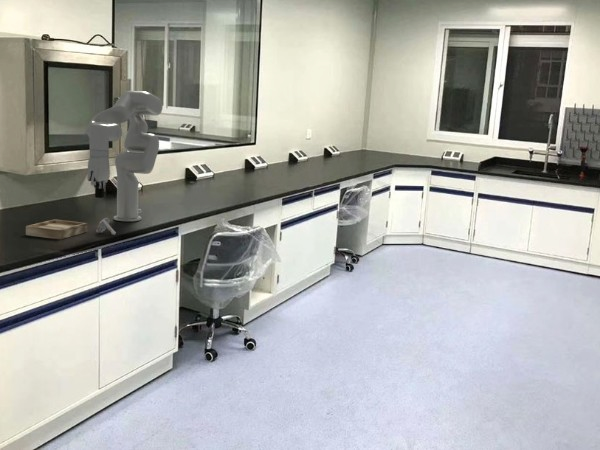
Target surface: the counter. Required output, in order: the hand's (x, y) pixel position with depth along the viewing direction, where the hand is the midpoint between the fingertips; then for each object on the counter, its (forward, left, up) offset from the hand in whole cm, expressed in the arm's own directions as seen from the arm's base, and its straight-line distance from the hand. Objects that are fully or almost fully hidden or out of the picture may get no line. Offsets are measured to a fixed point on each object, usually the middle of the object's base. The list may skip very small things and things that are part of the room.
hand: (99, 197), depth 252 cm
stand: (+1, +3, -17) cm, 17 cm away
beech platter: (+10, -13, -15) cm, 22 cm away
